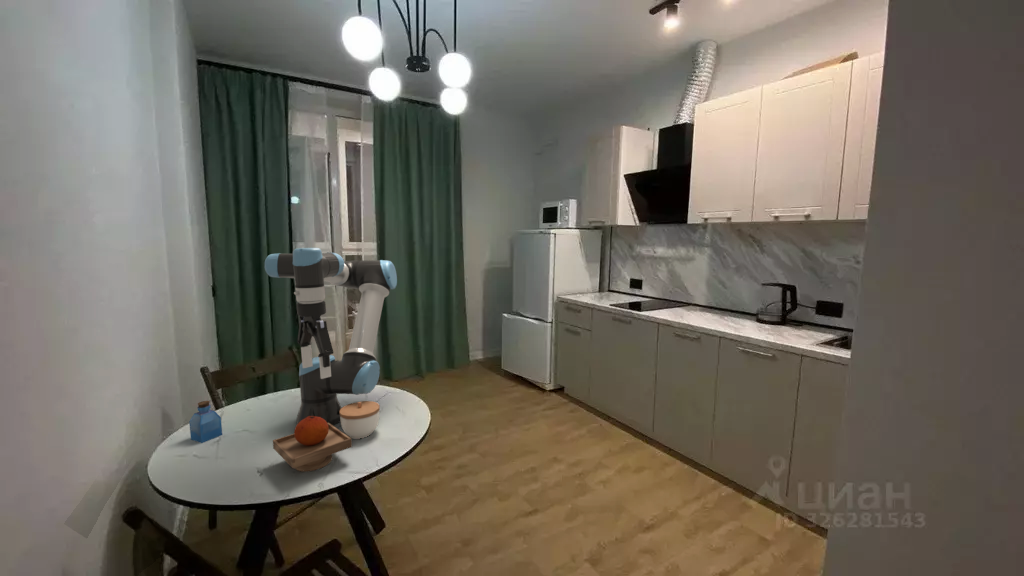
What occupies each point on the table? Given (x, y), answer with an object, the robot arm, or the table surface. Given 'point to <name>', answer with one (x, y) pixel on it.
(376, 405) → the lidded bowl
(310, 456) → the tray
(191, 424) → the perfume bottle
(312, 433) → the fruit
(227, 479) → the table surface
